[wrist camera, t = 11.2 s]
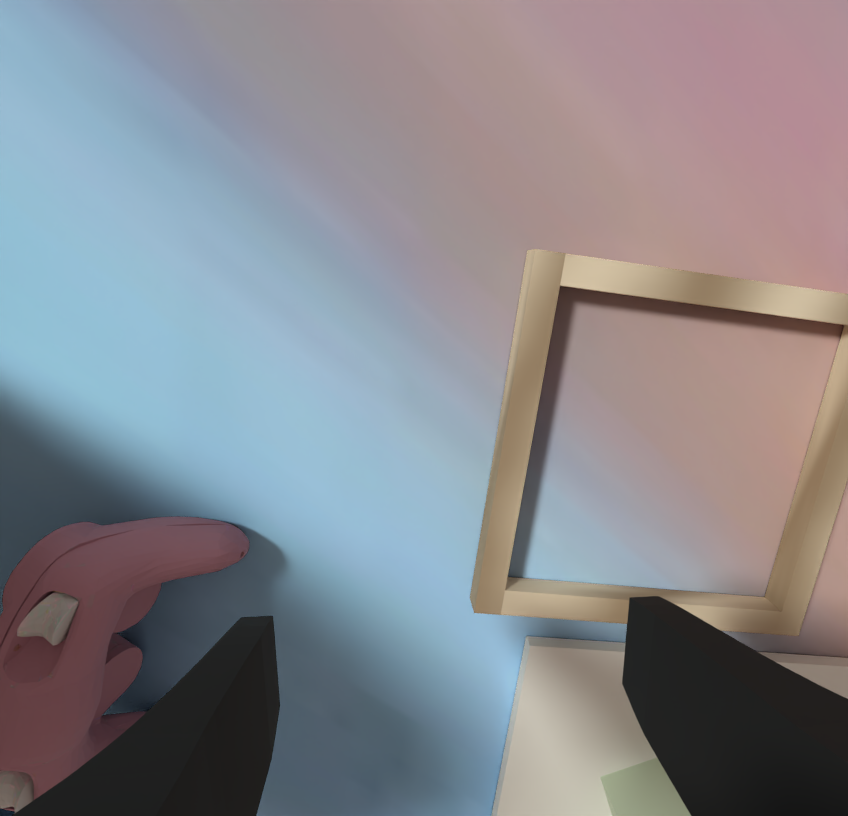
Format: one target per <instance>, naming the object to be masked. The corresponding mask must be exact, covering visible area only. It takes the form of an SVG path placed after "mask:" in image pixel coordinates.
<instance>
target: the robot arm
mask: <svg viewBox="0 0 848 816" xmlns="http://www.w3.org/2000/svg"><path fill="white" fill-rule="evenodd" d="M622 685H623V687H624V689H625V692H626V694H627V697H628V699H629V702H630V704H631V706H632V709H633V711H634V713H635V716H636V718H637V720H638V722H639V725H640V727H641V729H642V731H643V733H644V735H645V737H646V739H647V741H648V742H649V744H650V746H651V748H652V749H653V751H654V753H655V755H656V756H657V758H658V760H659V762H660V763H661V765H662V767H663V768H664V770H665V772H666V774H667V775H668V777H669V779H670V780H671V782H672V784H673V786H674V787H675V789H676V791H677V792H678V794H679V796H680V798H681V799H682V801H683V803H684V804H685V806H686V808H687V809H688V811H689V813H690V815H691V816H848V699H847V698H845V697H843V696H841V695H839V694H837V693H834V692H832V691H830V690H828V689H826V688H824V687H822V686H820V685H818V684H816V683H814V682H812V681H811V680H809V679H807V678H805V677H803V676H801V675H799V674H797V673H795V672H793V671H791V670H789V669H788V668H786V667H784V666H782V665H780V664H778V663H776V662H775V661H773V660H771V659H769V658H767V657H766V656H764V655H762V654H760V653H758V652H757V651H755V650H753V649H751V648H750V647H748V646H746V645H744V644H743V643H741V642H739V641H737V640H736V639H734V638H732V637H731V636H729V635H727V634H725V633H724V632H722V631H720V630H719V629H717V628H715V627H713V626H712V625H710V624H708V623H707V622H705V621H703V620H702V619H700V618H698V617H696V616H695V615H693V614H691V613H690V612H688V611H686V610H684V609H683V608H681V607H679V606H677V605H675V604H674V603H672V602H670V601H668V600H666V599H664V598H662V597H660V596H647V597H630V598H629V610H628V621H627V633H626V644H625V655H624V667H623V678H622ZM279 708H280V700H279V687H278V674H277V661H276V649H275V636H274V623H273V616H260V617H241V618H240V619H239V620H238V621H237V622H236V623H235V624H234V625H233V626H232V627H231V628H230V629H229V630H228V631H227V633H226V634H225V635H224V636H223V637H222V638H221V639H220V640H219V641H218V642H217V643H216V644H215V645H214V646H213V647H212V648H211V649H210V650H209V652H208V653H207V654H206V655H205V656H204V657H203V658H202V659H201V660H200V661H199V662H198V663H197V664H196V665H195V666H194V667H193V668H192V669H191V670H190V671H189V672H188V673H187V674H186V675H185V676H184V677H183V678H182V679H181V680H180V681H179V682H178V683H177V684H176V685H175V686H174V687H173V688H172V689H171V690H170V691H169V692H168V693H167V694H166V695H165V696H164V697H163V698H161V699H160V700H159V701H158V702H157V703H156V704H155V705H154V706H153V707H152V708H151V709H150V710H148V711H147V712H146V713H145V714H144V715H143V716H142V717H141V718H140V719H139V720H138V721H136V722H135V723H134V724H133V725H132V726H131V727H130V728H128V729H127V730H126V731H125V732H124V733H123V734H121V735H120V736H119V737H118V738H117V739H115V740H114V741H113V742H112V743H111V744H109V745H108V746H107V747H106V748H104V749H103V750H102V751H100V752H99V753H98V754H97V755H95V756H94V757H93V758H91V759H90V760H89V761H88V762H86V763H85V764H84V765H83V766H81V767H80V768H79V769H77V770H76V771H75V772H73V773H72V774H71V775H69V776H68V777H67V778H65V779H64V780H62V781H61V782H59V783H58V784H57V785H55V786H54V787H52V788H51V789H49V790H48V791H46V792H45V793H44V794H42V795H41V796H39V797H38V798H36V799H35V800H33V801H32V802H31V803H29V804H28V805H26V806H25V807H23V808H22V809H20V810H19V811H18V812H16V813H15V814H13V815H12V816H256V814H257V810H258V807H259V803H260V800H261V796H262V792H263V789H264V785H265V781H266V777H267V774H268V770H269V766H270V762H271V758H272V752H273V746H274V740H275V734H276V728H277V721H278V715H279Z"/></svg>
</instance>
